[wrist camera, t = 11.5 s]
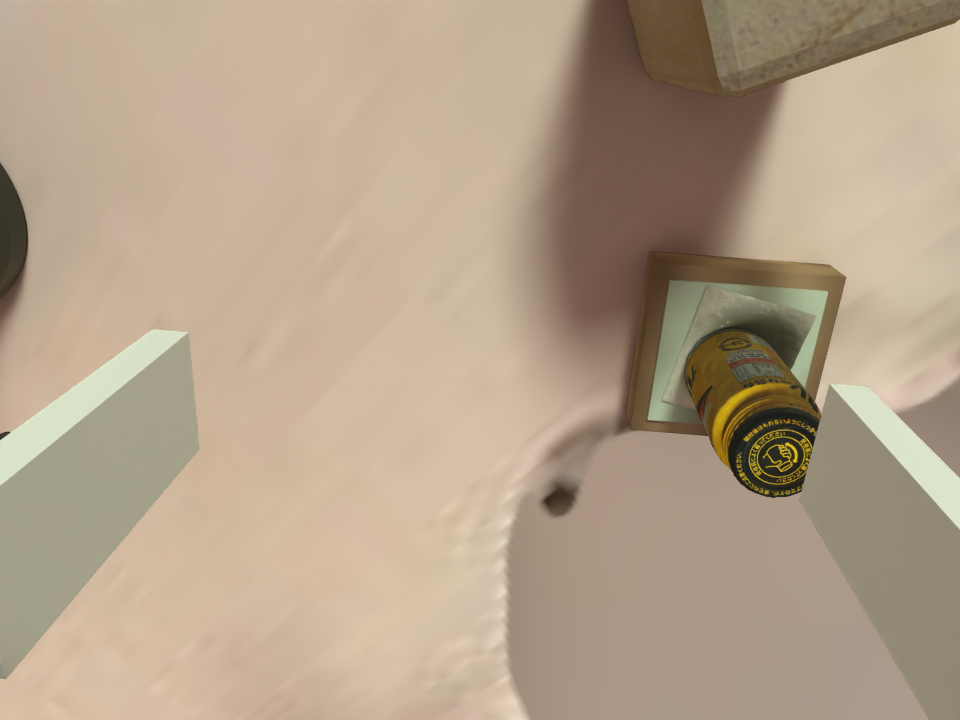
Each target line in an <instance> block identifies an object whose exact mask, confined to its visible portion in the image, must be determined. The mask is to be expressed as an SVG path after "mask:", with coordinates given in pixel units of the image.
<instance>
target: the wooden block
mask: <svg viewBox="0 0 960 720" xmlns="http://www.w3.org/2000/svg"><path fill="white" fill-rule="evenodd" d="M627 3H628V7H629V11H630V15H631V19H632V23H633V27H634V31H635V35H636V39H637V43H638V47H639V51H640V55H641V59H642V63H643V67H644V70H645V72H646V73H647V74H648V76H649V77H650V78H651V79H652V80H654V81H659V82H663V83H667V84H671V85H676V86H680V87H684V88H688V89H692V90H697V91H701V92H705V93H709V94H713V95H718V96H731V97H740V96H742V95H745V94H748V93H751V92H754V91H757V90H760V89H763V88H766V87H769V86H772V85H775V84H778V83H781V82H783V81H786V80H789V79H792V78H795V77H798V76H801V75H804V74H807V73H810V72H813V71H816V70H819V69H822V68H824V67H827V66H830V65H833V64H836V63H839V62H842V61H845V60H848V59H851V58H854V57H857V56H860V55H863V54H866V53H868V52H871V51H874V50H877V49H880V48H883V47H886V46H889V45H892V44H895V43H898V42H901V41H904V40H907V39H909V38H912V37H915V36H918V35H921V34H924V33H927V32H930V31H933V30H936V29H939V28H942V27H945V26H948V25H950V24H953V23H955V22H957V21H958V20H959V19H960V0H627Z"/></svg>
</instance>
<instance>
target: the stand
mask: <svg viewBox="0 0 960 720" xmlns="http://www.w3.org/2000/svg"><path fill="white" fill-rule="evenodd" d="M845 280H846V277H845V276H844V275H843V274H841V273H840V272H838V271H837V270H836V269H834V268H833V267H832V266H830V265H825V264H811V263H798V262H784V261H771V260H757V259H744V258H730V257H717V256H703V255H690V254H676V253H663V252H649V257H648V264H647V271H646V278H645V284H644V291H643V298H642V305H641V311H640V318H639V325H638V332H637V338H636V345H635V352H634V359H633V366H632V372H631V379H630V386H629V393H628V399H627V406H626V413H627V417H628V421H629V425H630V429H631V430H642V431H655V432H667V433H679V434H692V435H703V436H708V434H707V432H706V429H705V427H704V425H703V423H702V422H701V420H700V418H699V414H698V413H697V410H696V409H693V408H689V407H684V406H681V405H676V404H673V403H669V402H665V401H662V399H663V396H664V393H665V390H666V388H667V385H668V383H669V380H670V377H671V375H672V372H673V370H674V368H675V365H676V363H677V360H678V357H679V355H680V352H681V350H682V347H683V345H684V343H685V340H686V338H687V336H688V333H689V331H690V329H691V326H692V323H693V321H694V318H695V316H696V314H697V311H698V308H699V305H700V303H701V301H702V298H703V296H704V293H705V290H706V288H707V285H708V286H712V287H716V288H719V289H723V290H727V291H731V292H734V293H737V294H741V295H745V296H750V297H754V298H756V299H760V300H763V301H767V302H770V303H774V304H778V305H781V306H785V307H788V308H792V309H795V310H799V311H802V312H804V313H809V314H812V315H815V316H816V318H815V321H814V323H813V325H812V327H811V330H810V331H809V333H808V335H807V337H806V339H805V341H804V343H803V345H802V347H801V350H800V352H799V354H798V356H797V358H796V361H795V363H794V365H793V367H792V369H791V370H790V371H791V372H792V373H793V375H794V376H795V377H796V378H797V380H798V381H799V382H800V383H801V384H802V386H803V387H804V388H805V389H806V391H807V392H808V393H809V394H810V396H811V397H812V398H813V399H814V401H815V399H816V395H817V391H818V387H819V383H820V379H821V375H822V371H823V367H824V363H825V359H826V356H827V352H828V348H829V344H830V340H831V336H832V332H833V328H834V324H835V320H836V316H837V312H838V308H839V304H840V300H841V296H842V292H843V288H844V284H845ZM728 322H730V321H728ZM728 322H726V323H728ZM721 327H723V325H721Z"/></svg>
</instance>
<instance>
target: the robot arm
mask: <svg viewBox="0 0 960 720" xmlns="http://www.w3.org/2000/svg"><path fill="white" fill-rule="evenodd" d="M26 237H27V236H26V224H25V218H24V213H23V209H22V206H21V202H20V200H19V197H18V194H17V192H16V190H15V187H14V185H13V183H12V181H11V179H10V178H9V176H8V174H7V172H6V171H5V169H4V168H3V166H2V165H1V163H0V298H1V297H2V296H3V295H4V294H5V293H6V292H7V291H8V290H9V289H10V288H11V286H12V285H13V284H14V282H15V280H16V279H17V277H18V275H19V273H20V270H21V268H22V265H23V261H24V258H25V252H26ZM198 450H199V439H198V428H197V417H196V407H195V396H194V385H193V374H192V363H191V353H190V342H189V332H178V331H166V330H153V329H152V330H151V331H150V332H148V333H147V334H146V335H144V336H143V337H141V338H140V339H139V340H137V341H136V342H135V343H133V344H132V345H130V346H129V347H128V348H126V349H125V350H124V351H122V352H121V353H119V354H118V355H117V356H115V357H114V358H113V359H111V360H110V361H108V362H107V363H106V364H104V365H103V366H102V367H100V368H99V369H98V370H96V371H95V372H93V373H92V374H91V375H89V376H88V377H87V378H85V379H84V380H82V381H81V382H80V383H78V384H77V385H76V386H74V387H73V388H71V389H70V390H69V391H67V392H66V393H65V394H63V395H62V396H60V397H59V398H58V399H56V400H55V401H54V402H52V403H51V404H50V405H48V406H47V407H45V408H44V409H43V410H41V411H40V412H39V413H37V414H36V415H34V416H33V417H32V418H30V419H29V420H28V421H26V422H25V423H23V424H22V425H21V426H19V427H18V428H17V429H15V430H14V431H12V432H4V433H1V434H0V678H3V679H7V677H8V676H9V675H10V674H11V673H12V671H13V670H14V669H15V668H16V667H17V665H18V664H19V663H20V662H21V661H22V660H23V658H24V657H25V656H26V655H27V654H28V652H29V651H30V650H31V649H32V648H33V646H34V645H35V644H36V643H37V642H38V640H39V639H40V638H41V637H42V636H43V635H44V633H45V632H46V631H47V630H48V629H49V627H50V626H51V625H52V624H53V623H54V621H55V620H56V619H57V618H58V617H59V616H60V614H61V613H62V612H63V611H64V610H65V608H66V607H67V606H68V605H69V604H70V602H71V601H72V600H73V599H74V598H75V596H76V595H77V594H78V593H79V592H80V591H81V589H82V588H83V587H84V586H85V585H86V583H87V582H88V581H89V580H90V579H91V577H92V576H93V575H94V574H95V573H96V571H97V570H98V569H99V568H100V567H101V566H102V564H103V563H104V562H105V561H106V560H107V558H108V557H109V556H110V555H111V554H112V552H113V551H114V550H115V549H116V548H117V546H118V545H119V544H120V543H121V542H122V541H123V539H124V538H125V537H126V536H127V535H128V533H129V532H130V531H131V530H132V529H133V527H134V526H135V525H136V524H137V523H138V521H139V520H140V519H141V518H142V517H143V516H144V514H145V513H146V512H147V511H148V510H149V508H150V507H151V506H152V505H153V504H154V502H155V501H156V500H157V499H158V498H159V497H160V495H161V494H162V493H163V492H164V491H165V489H166V488H167V487H168V486H169V485H170V483H171V482H172V481H173V480H174V479H175V477H176V476H177V475H178V474H179V473H180V472H181V470H182V469H183V468H184V467H185V466H186V464H187V463H188V462H189V461H190V460H191V458H192V457H193V456H194V455H195V454H196V452H197V451H198ZM799 501H800V503H801V504H802V506H803V508H804V509H805V511H806V513H807V514H808V516H809V518H810V520H811V521H812V523H813V524H814V526H815V528H816V530H817V531H818V533H819V534H820V536H821V538H822V540H823V541H824V543H825V545H826V547H827V548H828V550H829V552H830V553H831V555H832V557H833V558H834V560H835V562H836V563H837V565H838V567H839V568H840V570H841V572H842V573H843V575H844V577H845V578H846V580H847V582H848V584H849V585H850V587H851V589H852V590H853V592H854V594H855V595H856V597H857V599H858V600H859V602H860V603H861V606H862V607H863V609H864V610H865V612H866V614H867V615H868V617H869V619H870V621H871V622H872V624H873V626H874V627H875V629H876V631H877V633H878V634H879V636H880V638H881V639H882V641H883V643H884V644H885V646H886V648H887V649H888V651H889V653H890V654H891V656H892V658H893V659H894V661H895V663H896V664H897V666H898V668H899V670H900V671H901V673H902V675H903V676H904V678H905V680H906V681H907V683H908V684H909V686H910V688H911V690H912V692H913V693H914V695H915V697H916V698H917V700H918V702H919V703H920V705H921V707H922V708H923V710H924V712H925V713H926V715H927V717H928V719H929V720H960V478H959V477H958V476H957V475H956V474H955V473H954V472H953V471H952V470H951V469H950V468H949V467H948V466H947V465H946V464H945V463H944V462H943V461H942V460H941V459H940V458H939V457H938V456H937V455H936V454H935V453H934V452H933V451H932V450H931V449H930V448H929V447H928V446H927V445H926V444H925V443H924V442H923V441H922V440H921V439H920V438H919V437H918V436H917V435H916V434H915V433H914V432H913V431H912V430H911V429H910V428H909V427H908V426H907V425H906V424H905V423H904V422H903V421H902V420H901V419H900V418H899V417H898V416H897V415H896V414H895V413H894V412H893V411H892V410H891V409H890V408H889V407H888V406H887V405H886V404H885V403H884V402H883V401H882V400H881V399H880V398H879V397H878V396H877V395H876V394H875V393H874V392H873V391H872V390H871V389H870V388H869V387H863V386H851V385H839V384H829V388H828V392H827V396H826V399H825V403H824V407H823V411H822V415H821V419H820V423H819V426H818V430H817V434H816V438H815V442H814V446H813V450H812V453H811V457H810V461H809V465H808V469H807V473H806V477H805V480H804V484H803V488H802V492H801V496H800V500H799Z"/></svg>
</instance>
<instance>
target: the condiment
mask: <svg viewBox="0 0 960 720" xmlns="http://www.w3.org/2000/svg"><path fill="white" fill-rule="evenodd" d="M815 318H816V316H815V315H812V314H809V313H804V312H802V311H799V310H795V309H792V308H788V307H785V306H781V305H778V304H774V303H770V302H767V301H763V300H760V299H756V298H754V297H750V296H745V295H741V294H737V293H734V292H731V291H727V290H723V289H719V288H716V287H712V286H708V285H707V288H706V290H705V293H704V296H703V298H702V301H701V303H700V305H699V308H698V311H697V314H696V316H695V318H694V321H693V323H692V326H691V329H690V331H689V333H688V336H687V338H686V340H685V343H684V345H683V347H682V350H681V352H680V355H679V357H678V360H677V363H676V365H675V368H674V370H673V372H672V375H671V377H670V380H669V383H668V385H667V388H666V390H665V393H664V396H663V399H662V401H665V402H669V403H673V404H676V405H681V406H684V407H689V408H693V409H696V410H697V413H698V414H699V418H700V420H701V422H702V423H703V425H704V427H705V429H706V432H707V434H708V436H709V438H710V441H711V444H712V447H713V448H714V450H715V451H716V453H717V455H718V456H719V458H720V459H721V461H722V462H723V463H724V464H725V465H726V466H728V467H729V468H730V469H731V470H732V472H733V473H734V476H735V477H736V478H737V480H738V481H739V482H740V483H741V484H742V485H743V486H745V487H746V488H747V489H748V490H750V491H752V492H755V493H757V494H760V495H763V496H766V497H772V498H775V497H787V496H791V495H794V494H797V493H799V492H802V488H803V484H804V480H805V477H806V473H807V469H808V465H809V461H810V457H811V453H812V450H813V446H814V442H815V438H816V434H817V430H818V426H819V423H820V419H821V413H820V410H819V408H818V407H817V405H816V403H815V401H814V399H813V398H812V397H811V396H810V394H809V393H808V392H807V391H806V389H805V388H804V387H803V386H802V384H801V383H800V382H799V381H798V380H797V378H796V377H795V376H794V375H793V373H792V372H791V371H790V370H791V369H792V367H793V365H794V363H795V361H796V358H797V356H798V354H799V352H800V350H801V347H802V345H803V343H804V341H805V339H806V337H807V335H808V333H809V331H810V330H811V327H812V325H813V323H814V321H815ZM728 321H730V322H728ZM726 322H728V323H726ZM721 325H723V327H721Z"/></svg>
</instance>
